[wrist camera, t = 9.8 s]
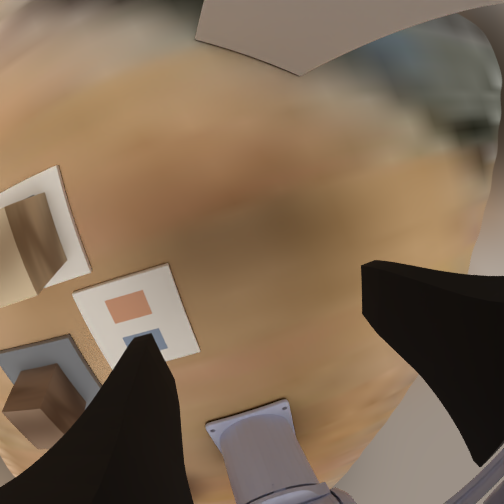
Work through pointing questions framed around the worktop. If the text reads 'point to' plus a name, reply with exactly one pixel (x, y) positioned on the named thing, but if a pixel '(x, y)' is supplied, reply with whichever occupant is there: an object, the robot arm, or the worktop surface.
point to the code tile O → (54, 219)
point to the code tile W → (137, 314)
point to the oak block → (27, 249)
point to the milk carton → (313, 26)
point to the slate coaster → (51, 353)
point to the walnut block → (43, 405)
